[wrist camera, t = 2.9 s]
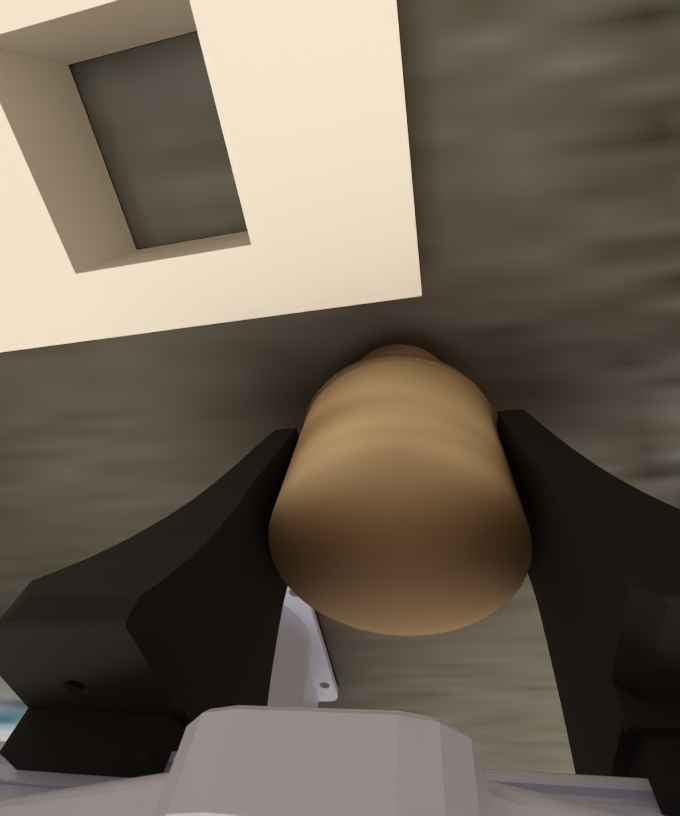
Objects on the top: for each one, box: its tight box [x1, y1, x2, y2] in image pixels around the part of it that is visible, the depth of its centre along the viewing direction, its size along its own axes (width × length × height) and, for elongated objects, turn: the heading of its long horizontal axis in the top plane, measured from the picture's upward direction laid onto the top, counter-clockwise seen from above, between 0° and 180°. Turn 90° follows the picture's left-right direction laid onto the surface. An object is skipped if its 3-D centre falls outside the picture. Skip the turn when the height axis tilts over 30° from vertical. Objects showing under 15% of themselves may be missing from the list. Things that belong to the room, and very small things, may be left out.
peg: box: [268, 344, 532, 636], centre depth 12 cm, size 5×5×7 cm
